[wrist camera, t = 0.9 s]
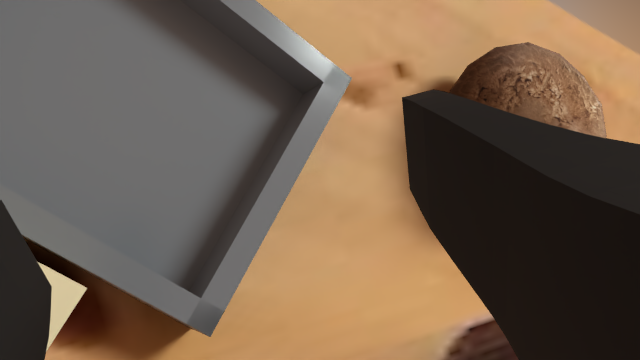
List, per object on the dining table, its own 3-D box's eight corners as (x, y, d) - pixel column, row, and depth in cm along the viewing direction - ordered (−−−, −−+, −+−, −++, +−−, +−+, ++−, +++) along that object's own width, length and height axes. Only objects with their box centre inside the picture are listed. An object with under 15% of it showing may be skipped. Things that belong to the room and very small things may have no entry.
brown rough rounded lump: (611, 100, 31) (660, 80, 25) (540, 227, 32) (571, 238, 26) (479, 37, 33) (495, 4, 26) (413, 161, 33) (414, 156, 27)
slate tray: (191, 328, 23) (210, 336, 20) (-186, 124, 18) (-216, 105, 16) (324, 92, 27) (351, 78, 24) (46, -125, 22) (49, -167, 20)
